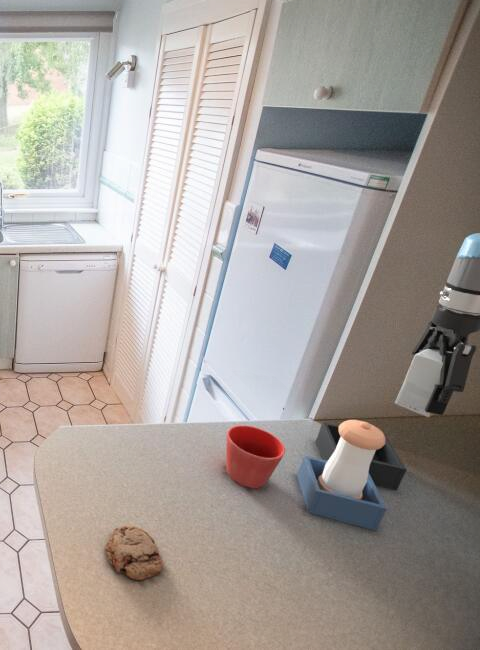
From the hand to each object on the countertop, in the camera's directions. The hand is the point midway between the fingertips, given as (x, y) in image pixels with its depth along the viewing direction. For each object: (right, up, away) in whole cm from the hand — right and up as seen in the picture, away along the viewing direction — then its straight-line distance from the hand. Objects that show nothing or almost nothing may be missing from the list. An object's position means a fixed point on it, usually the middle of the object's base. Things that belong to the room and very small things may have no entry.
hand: (422, 399), depth 102 cm
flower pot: (-41, -17, -1) cm, 44 cm away
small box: (0, -2, +1) cm, 2 cm away
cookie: (-73, -25, -19) cm, 79 cm away
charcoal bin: (-14, -15, +2) cm, 21 cm away
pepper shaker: (-27, -19, -8) cm, 34 cm away
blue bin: (-27, -20, -8) cm, 34 cm away
